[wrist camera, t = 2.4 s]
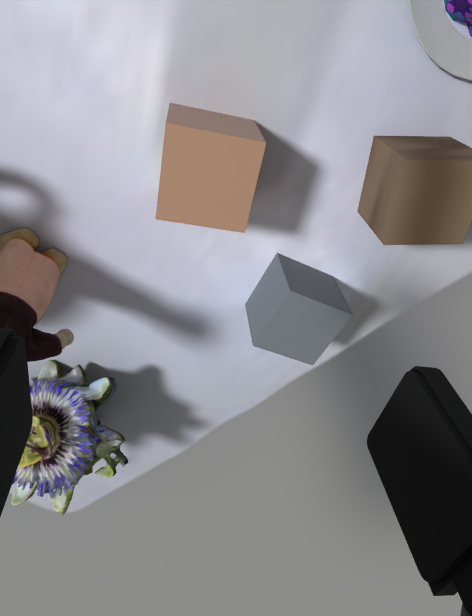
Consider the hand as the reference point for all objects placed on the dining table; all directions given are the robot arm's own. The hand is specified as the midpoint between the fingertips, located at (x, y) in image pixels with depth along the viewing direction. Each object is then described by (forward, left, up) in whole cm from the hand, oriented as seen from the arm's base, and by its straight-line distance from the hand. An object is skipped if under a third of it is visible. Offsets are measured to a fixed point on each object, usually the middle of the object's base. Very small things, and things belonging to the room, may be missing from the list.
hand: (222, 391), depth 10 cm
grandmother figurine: (+10, +9, -20) cm, 24 cm away
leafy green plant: (+8, +23, -20) cm, 31 cm away
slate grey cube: (-8, +9, -19) cm, 23 cm away
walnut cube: (-13, -1, -19) cm, 23 cm away
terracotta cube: (0, 0, -19) cm, 19 cm away
